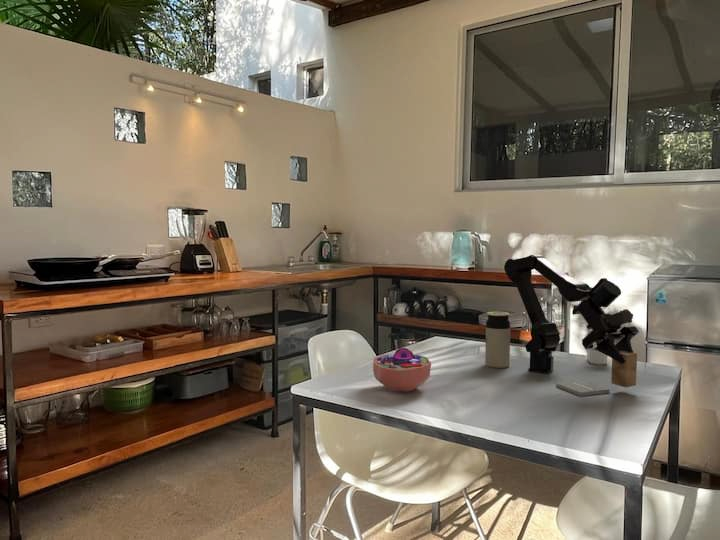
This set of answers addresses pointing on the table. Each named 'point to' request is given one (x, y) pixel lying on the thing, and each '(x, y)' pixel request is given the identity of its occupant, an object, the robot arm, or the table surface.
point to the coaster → (582, 388)
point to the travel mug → (497, 340)
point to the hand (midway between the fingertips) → (629, 362)
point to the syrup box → (595, 354)
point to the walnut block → (625, 370)
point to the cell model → (402, 370)
